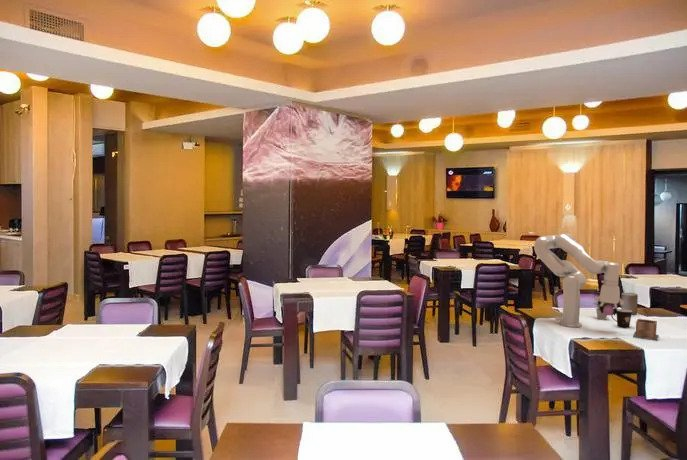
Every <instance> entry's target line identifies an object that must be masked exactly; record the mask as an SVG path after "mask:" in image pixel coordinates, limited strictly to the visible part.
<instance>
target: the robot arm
mask: <svg viewBox="0 0 687 460" xmlns="http://www.w3.org/2000/svg"><path fill="white" fill-rule="evenodd" d="M558 248H559V249H561V250H562V251H564V252H566V253H567V254H568V255H570V256H571V257H572V258H573V259H575V261H576V262H577V264H579V266H581V268H583V269H585V270H586V271H587V272H589V274H590V273H591V274H593V275H598V274H604V275H603V276H604V277H603V280H600V281H601V284H602V285H601V288H600V294H599V295H598V296H597V298H596V297H595V298H594V300H595V302H597V304H598V305H600V306H601V308H600V311H601V313H603V308H604V306H603V304H604V303H611V304H612V305H614V307H613V308H614V314H613V316H616V315H617V309H619V308H621V305H623V304H624V302H623V301H622V298H621V296H620V295H621V293H620V292H621V291H620V286H619V277H620V269H621V267H620V266H621V265H620V264H619V263H618V262H612V261H605V260H600V259H599V260H598V259H597V260H595V259H594V258H592V257H591V256H589V254H587V253H586V250H585V247H584V246H583V245H582V244H580V243H578V241H576V238H575V236H573V234H571V233H569V232H568V233H561V234H553V235H552V234H551V235H550V234H549V235H542V236H540V237H537V238H536V240H535V241H534V246H533V250H534V252H535V255H536V256H537V258H538V259H539V260H541V262H543V264H544V265H545V266H546V267H547V268H548V270H550V271H551V272H552V273H553V274H554V275H555V276H557V277H563V280H562V290H563V293H562V295H563V296H562V298H563V299H562V300H563V301H562V316H556V315H555V317H554V320H555V321H559V325H560V326H563V327H568V328H569V327H570V328H581V327H582V322H580V307H581V291H580V288H582V287H584V286H585V285H586V282H587V278H586V276H585V275H584V274H583V272H582V271H580V270H579V269H578V268H577V267H576V266H575V265H574V264H573V263H572V262H571V261H569V260H566V259H565V260H564V259H563V260H562V259H560V258H559V257H558V255H556V254H555V253H554V252H553V251H552V250H551V249H558ZM599 299H600V301H601V302H600V301H599ZM611 304H610V305H611Z"/></svg>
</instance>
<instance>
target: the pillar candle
mask: <svg viewBox="0 0 687 460" xmlns="http://www.w3.org/2000/svg"><path fill="white" fill-rule="evenodd" d="M638 296H639V294H637V293H634V292H622V293H621V300H622V301H623V302H624V304H623V305H621V306H620V309H626V310H631V311H632V315H631V316H637V315H638V302H639V301H638V300H639V299H638Z"/></svg>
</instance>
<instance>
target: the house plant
mask: <svg viewBox="0 0 687 460" xmlns="http://www.w3.org/2000/svg"><path fill="white" fill-rule="evenodd" d="M592 296H593V297H594V298H595V299H596V298H597V297H598V296H599V295H598V294H596V295H595V296H594V295H592ZM599 301H600V299H599ZM600 302H601V301H600ZM601 303H602V302H601ZM591 304H592V305H595V306H598V307H597V308H595V309H596V318H597V319H598V320H602V319H605V320H607V317H608V315H606V314H605V313H604V312H603V313H601V311H600V308H601V306H600V305H599V304H598V303H596V302H593V303H591ZM606 305H611V303H604V304H603V306H606Z"/></svg>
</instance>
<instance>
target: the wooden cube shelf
mask: <svg viewBox="0 0 687 460" xmlns="http://www.w3.org/2000/svg"><path fill="white" fill-rule="evenodd" d="M657 324H658V323H657V320H650V319H642V318H637V320H636V322H635V331H634V333H633V335H632V338H635V339H643V340H648V341H649V340H650V341H658V340H659V337H660V336H659V334H657V326H658V325H657Z"/></svg>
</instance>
